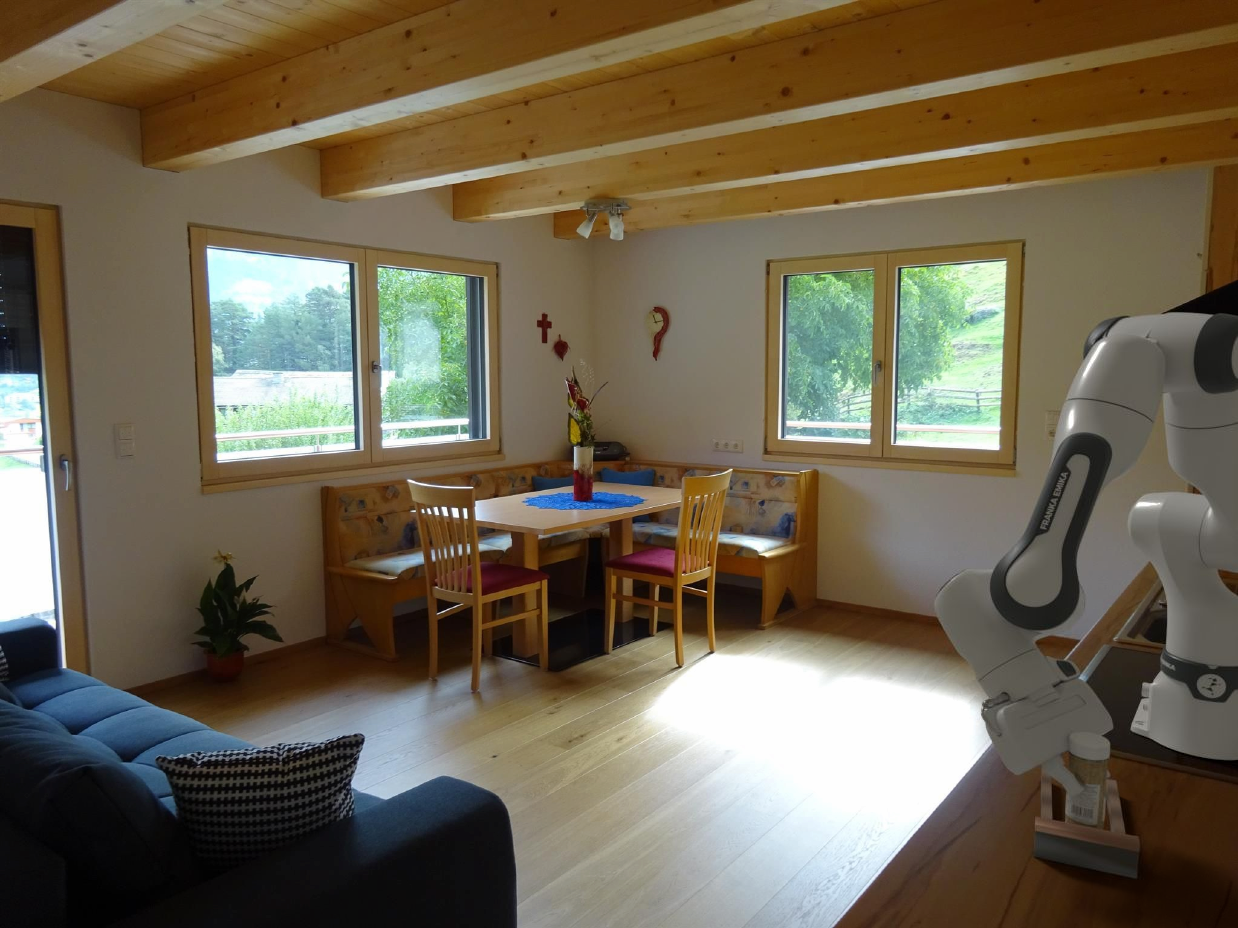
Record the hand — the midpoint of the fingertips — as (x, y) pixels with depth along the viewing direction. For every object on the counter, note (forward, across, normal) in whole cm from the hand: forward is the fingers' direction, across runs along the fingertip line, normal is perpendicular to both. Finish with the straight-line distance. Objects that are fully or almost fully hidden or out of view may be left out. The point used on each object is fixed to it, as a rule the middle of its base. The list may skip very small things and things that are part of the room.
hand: (1091, 786), depth 112 cm
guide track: (+3, +5, +8) cm, 10 cm away
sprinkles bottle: (+5, 0, +6) cm, 8 cm away
